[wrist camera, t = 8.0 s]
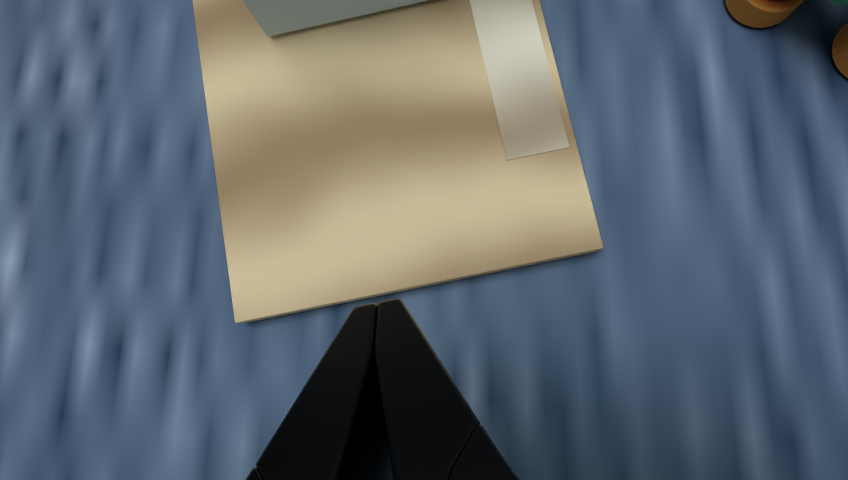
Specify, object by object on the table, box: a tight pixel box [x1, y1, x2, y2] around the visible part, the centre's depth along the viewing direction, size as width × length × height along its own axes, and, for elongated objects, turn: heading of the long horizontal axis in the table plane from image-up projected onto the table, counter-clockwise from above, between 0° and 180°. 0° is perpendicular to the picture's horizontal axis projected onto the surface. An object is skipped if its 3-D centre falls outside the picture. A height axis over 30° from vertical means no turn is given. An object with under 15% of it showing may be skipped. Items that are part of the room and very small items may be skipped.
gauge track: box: [193, 0, 603, 323], centre depth 22 cm, size 24×14×1 cm, turn 11°
